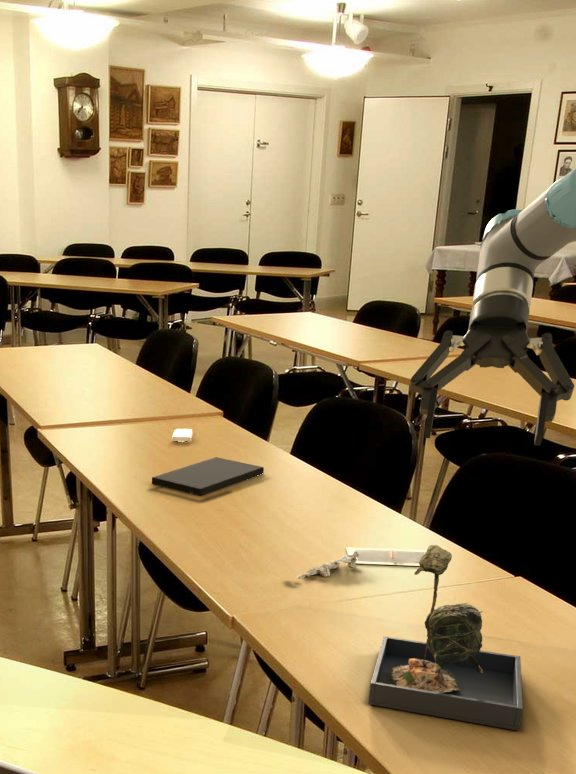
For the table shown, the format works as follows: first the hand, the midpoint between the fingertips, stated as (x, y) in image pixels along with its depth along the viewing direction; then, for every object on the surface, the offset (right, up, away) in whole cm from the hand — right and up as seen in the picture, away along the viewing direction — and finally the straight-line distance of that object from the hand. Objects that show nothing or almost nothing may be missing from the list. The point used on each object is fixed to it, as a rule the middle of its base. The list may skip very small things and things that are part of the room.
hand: (481, 436), depth 122 cm
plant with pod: (-8, -33, -3) cm, 34 cm away
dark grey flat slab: (-21, +4, +89) cm, 92 cm away
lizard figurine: (-11, -19, +34) cm, 40 cm away
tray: (-7, -34, -4) cm, 35 cm away
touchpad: (+3, -16, +40) cm, 43 cm away
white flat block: (-24, +15, +118) cm, 121 cm away
